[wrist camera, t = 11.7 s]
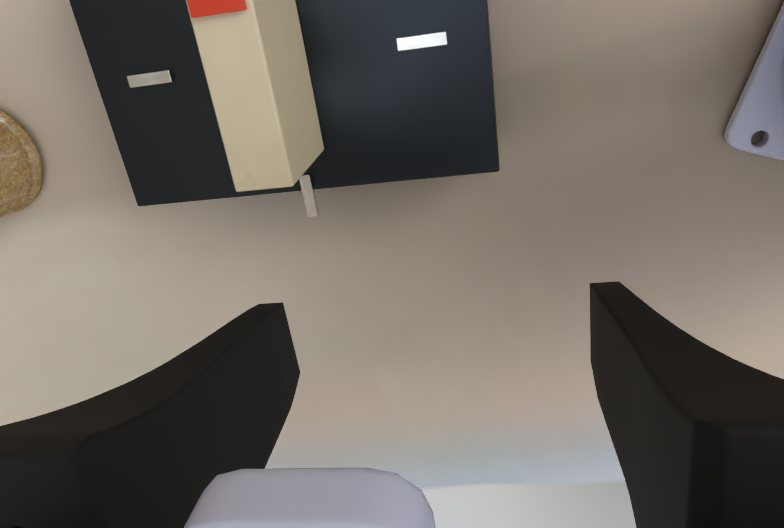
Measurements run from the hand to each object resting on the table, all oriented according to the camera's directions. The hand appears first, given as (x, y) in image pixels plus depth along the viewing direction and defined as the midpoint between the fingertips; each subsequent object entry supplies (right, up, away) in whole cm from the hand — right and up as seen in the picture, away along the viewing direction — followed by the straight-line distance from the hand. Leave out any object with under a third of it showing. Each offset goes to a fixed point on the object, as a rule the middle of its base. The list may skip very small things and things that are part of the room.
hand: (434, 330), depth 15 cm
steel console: (-4, +9, +7) cm, 12 cm away
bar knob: (-4, +7, +4) cm, 9 cm away
